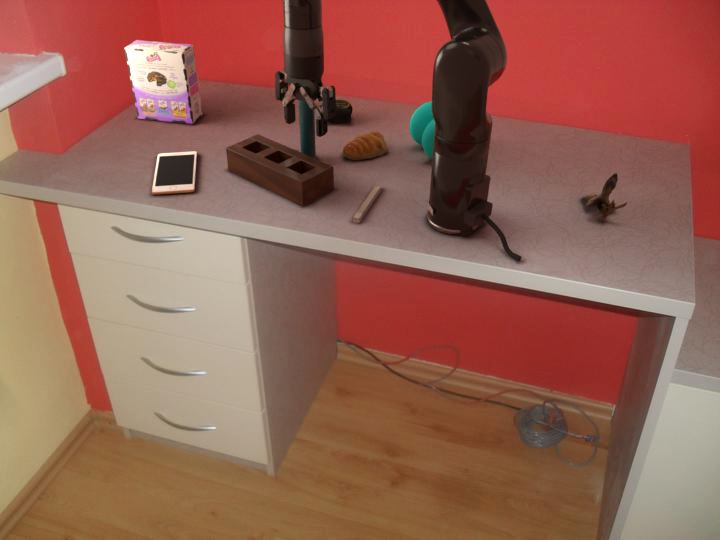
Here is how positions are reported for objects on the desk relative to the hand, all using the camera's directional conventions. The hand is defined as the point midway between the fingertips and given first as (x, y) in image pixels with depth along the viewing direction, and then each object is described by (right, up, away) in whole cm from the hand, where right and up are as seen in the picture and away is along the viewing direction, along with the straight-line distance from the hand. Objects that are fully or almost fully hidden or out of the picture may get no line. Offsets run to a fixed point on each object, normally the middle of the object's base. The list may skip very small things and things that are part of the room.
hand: (305, 129), depth 140 cm
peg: (0, -5, +4) cm, 7 cm away
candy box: (-32, +7, +20) cm, 39 cm away
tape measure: (+6, +5, +19) cm, 21 cm away
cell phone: (-25, -9, -2) cm, 27 cm away
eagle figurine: (+55, -17, -11) cm, 59 cm away
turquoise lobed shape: (+27, -4, +7) cm, 28 cm away
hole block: (-5, -11, -3) cm, 12 cm away
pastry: (+12, -4, +7) cm, 14 cm away
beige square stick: (+12, -16, -11) cm, 23 cm away
